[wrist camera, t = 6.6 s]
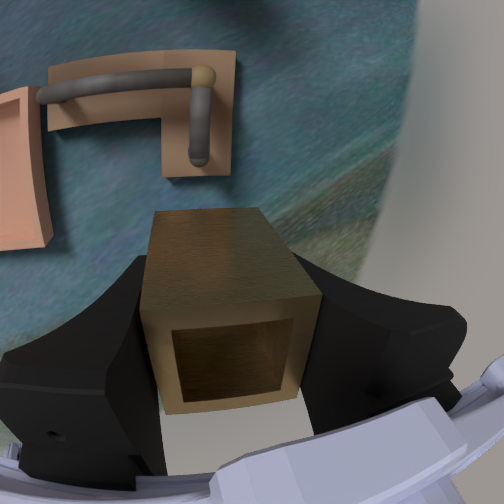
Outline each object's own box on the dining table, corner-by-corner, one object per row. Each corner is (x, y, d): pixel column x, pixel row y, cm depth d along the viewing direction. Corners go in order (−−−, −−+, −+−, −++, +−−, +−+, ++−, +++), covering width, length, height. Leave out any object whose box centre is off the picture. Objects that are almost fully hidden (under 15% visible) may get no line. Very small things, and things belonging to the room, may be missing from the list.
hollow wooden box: (252, 291, 14) (296, 397, 8) (163, 298, 13) (165, 414, 8) (257, 207, 12) (322, 293, 7) (154, 211, 11) (139, 309, 6)
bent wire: (227, 171, 18) (240, 189, 15) (58, 183, 16) (31, 204, 12) (233, 53, 15) (248, 39, 11) (54, 68, 12) (24, 61, 9)
